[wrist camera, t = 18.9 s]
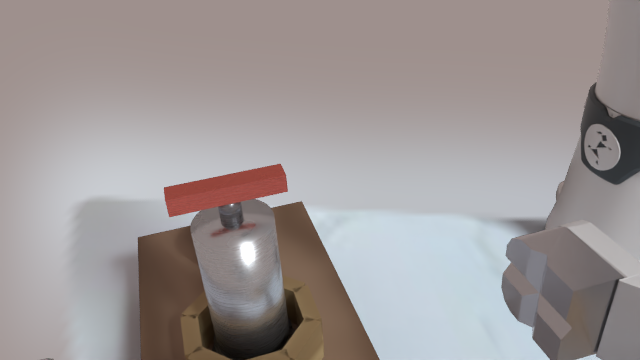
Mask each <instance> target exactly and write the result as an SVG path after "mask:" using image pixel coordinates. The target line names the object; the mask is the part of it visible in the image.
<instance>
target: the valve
mask: <svg viewBox="0 0 640 360" xmlns="http://www.w3.org/2000/svg"><path fill="white" fill-rule="evenodd" d="M287 191H288V189H287V181H286V174H285V172H284V170H283V168H282V166H281V164H277V165H272V166H267V167H262V168H257V169H252V170H248V171H243V172H238V173H233V174H228V175H223V176H218V177H213V178H209V179H204V180H199V181H194V182H189V183H184V184H179V185H174V186H169V187H165V188H164V194H165V202H166V205H167V209H168V213H169V217H172V216H177V215H181V214H186V213H191V212H195V211H200V210H201V211H200V212H199V213H198V214H197V215H196V216H195V217H194V219H193V220H192V223H191V227H190V230H191V235H192V239H193V243H194V247H195V251H196V256H197V260H198V264H199V268H200V272H201V277H202V281H203V285H204V289H205V293H206V298H207V302H208V306H209V310H210V314H211V319H212V323H213V327H214V331H215V334H214V346H215V350H216V353H218V354H220V355H222V356H225V357H227V358H229V359H232V360H247V359H251V358H254V357H258V356H262V355H265V354H269V353H272V352H276V351H280V350H282V349H283V348H284V346H285V345H286V344H287V342H288V341H289V339H290V338H291V337H292V335H293V329H292V324H291V321H290V319H289V318H288V316H287V308H286V301H285V293H284V286H283V278H282V271H281V263H280V256H279V248H278V241H277V233H276V226H275V218H274V213H273V211H272V209H271V208H270V207H269V206H268V205H267V204H265V203H264V202H262V201H259V200H256V199H255V198H259V197H264V196H269V195H273V194H278V193H283V192H287Z"/></svg>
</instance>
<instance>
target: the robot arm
mask: <svg viewBox="0 0 640 360" xmlns="http://www.w3.org/2000/svg"><path fill="white" fill-rule="evenodd" d="M584 108H585V109H584V114H583V118H582V123H581V136H580V138H579V141H578V144H577V147H576V150H575V152H574V155H573V158H572V161H571V163H570V166H569V169H568V172H567V175H566V178H565V181H563V182H561V183H560V184H559V186H558V189H557V192H556V203H555V205H554V207H553V209H552V211H551V213H550V215H549V216H548V218H547V221H546V226H545V227H546V230H542V231H538V232H535V233H531V234H527V235H523V236H520V237H516V238H512V239H511V241H510V242H509V243H508V245H507V250H506V257H507V258H508V259H509V260H510V261H511V264H510V265H509V266H508V268H507V269H506V270H505V271H504V273H503V277H502V291H503V295H504V300H505V302H506V304H507V306H508V308H509V310H510V311H511V313H512V314H513V315H514V316H515V318H516V319H517V320H518V321H520V322H522V323H524V324H526V325H528V326H531V327H532V338H533V340H534V341H535V342H536V343H537V344H538V346H539V347H540V348H541V349H542V350H543V352H544V353H545V354H546V355H547V356H548V358H549V359H550V360H576V359H579V358H583V357H586V356H590V355H593V354H596V356H597V357H598V358H600V359H602V360H640V0H609V9H608V19H607V27H606V35H605V41H604V48H603V53H602V59H601V64H600V69H599V75H598V78H597V82H596V83H595V84H593V85H592V86H591V88H590V90H589V94H588V97H587V99H586V103H585V106H584ZM42 360H53V359H50V358H46V359H42Z"/></svg>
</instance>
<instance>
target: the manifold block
mask: <svg viewBox="0 0 640 360" xmlns="http://www.w3.org/2000/svg"><path fill="white" fill-rule="evenodd" d="M271 209H272V211H273V213H274V218H275V226H276V233H277V241H278V248H279V256H280V263H281V271H282V278H283V286H284V293H285V301H286V308H287V316H288V318H289V319H290V321H291V324H292V329H293V335H292V337H291V338H290V339H289V341H288V342H287V344H286V345H285V346H284V348H283V349H282V350H280V351H276V352H272V353H269V354H265V355H262V356H258V357H254V358H251V359H247V360H379V357H378V355H377V353H376V351H375V349H374V347H373V345H372V343H371V341H370V339H369V337H368V335H367V333H366V331H365V329H364V327H363V325H362V323H361V321H360V319H359V317H358V315H357V313H356V311H355V309H354V307H353V305H352V303H351V301H350V299H349V296H348V294H347V292H346V290H345V288H344V286H343V284H342V282H341V280H340V278H339V276H338V274H337V272H336V270H335V268H334V266H333V264H332V262H331V260H330V258H329V256H328V254H327V252H326V250H325V248H324V246H323V244H322V242H321V240H320V238H319V236H318V233H317V231H316V229H315V227H314V225H313V223H312V221H311V219H310V217H309V215H308V213H307V211H306V209H305V207H304V205H303V203H302V202H296V203H292V204H287V205H282V206H278V207H273V208H271ZM190 227H191V226H187V227H183V228H178V229H174V230H169V231H165V232H160V233H156V234H151V235H147V236H142V237H138V261H139V298H140V334H141V360H232V359H229V358H227V357H225V356H222V355H220V354H218V353H216V350H215V346H214V334H215V331H214V327H213V323H212V319H211V314H210V310H209V306H208V302H207V298H206V293H205V289H204V285H203V281H202V277H201V272H200V268H199V264H198V260H197V256H196V251H195V247H194V243H193V239H192V235H191V230H190Z"/></svg>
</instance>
